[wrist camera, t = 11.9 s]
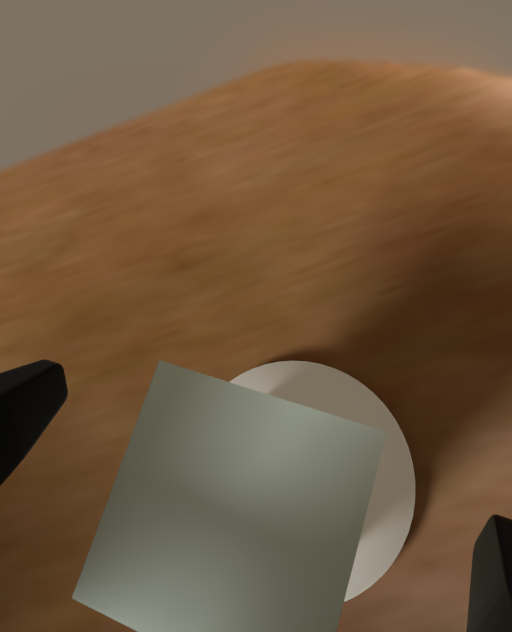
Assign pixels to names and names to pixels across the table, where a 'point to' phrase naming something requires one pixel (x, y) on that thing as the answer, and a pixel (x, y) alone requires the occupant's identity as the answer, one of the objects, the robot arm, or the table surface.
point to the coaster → (394, 466)
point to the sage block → (231, 512)
